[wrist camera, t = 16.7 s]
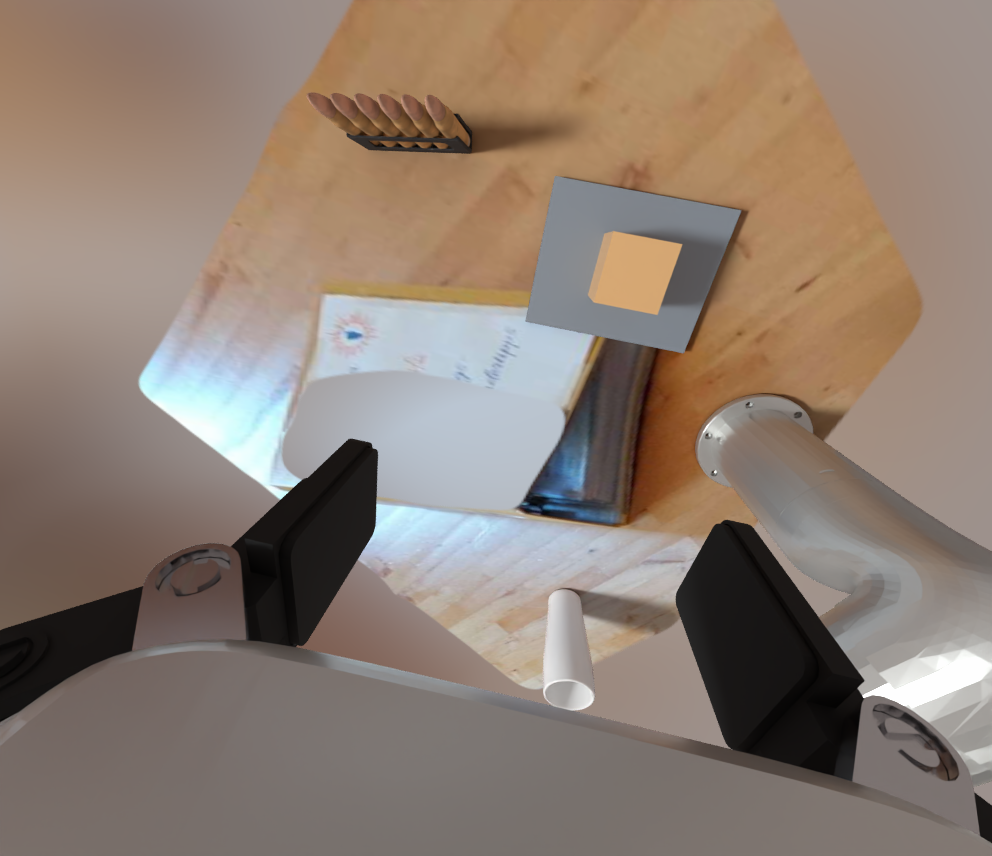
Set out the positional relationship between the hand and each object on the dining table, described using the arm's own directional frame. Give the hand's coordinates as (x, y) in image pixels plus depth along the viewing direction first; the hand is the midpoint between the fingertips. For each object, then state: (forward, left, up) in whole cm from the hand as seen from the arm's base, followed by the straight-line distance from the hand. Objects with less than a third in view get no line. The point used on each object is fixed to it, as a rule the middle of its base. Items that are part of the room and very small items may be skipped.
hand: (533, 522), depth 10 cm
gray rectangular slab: (-7, -6, -36) cm, 37 cm away
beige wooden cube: (-7, -6, -35) cm, 36 cm away
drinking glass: (-13, +44, -36) cm, 58 cm away
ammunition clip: (+16, -14, -37) cm, 42 cm away
